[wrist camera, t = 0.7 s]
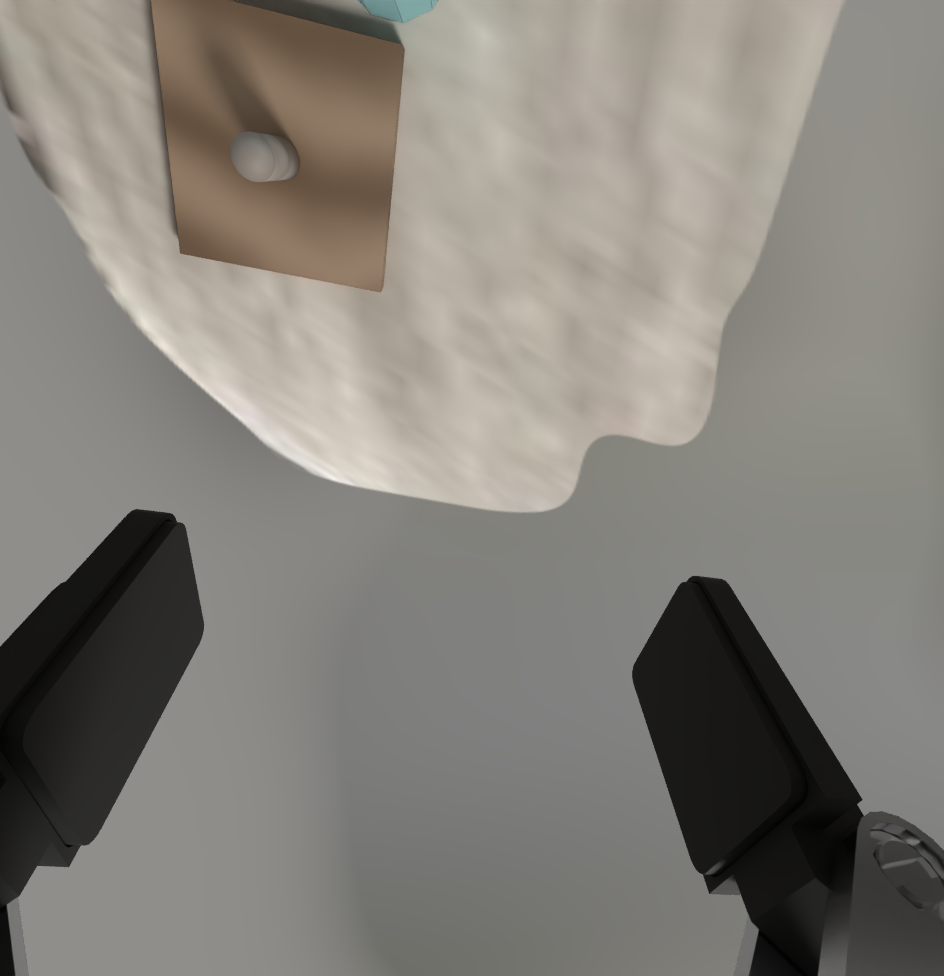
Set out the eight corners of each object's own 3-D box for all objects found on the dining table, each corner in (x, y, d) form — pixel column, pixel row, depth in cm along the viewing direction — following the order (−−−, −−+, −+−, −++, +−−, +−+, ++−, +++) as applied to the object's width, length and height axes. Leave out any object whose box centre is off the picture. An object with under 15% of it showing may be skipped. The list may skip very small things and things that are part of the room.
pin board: (161, -14, 24) (72, -67, 19) (404, 49, 26) (390, 17, 20) (189, 250, 31) (129, 269, 25) (383, 288, 32) (367, 314, 27)
